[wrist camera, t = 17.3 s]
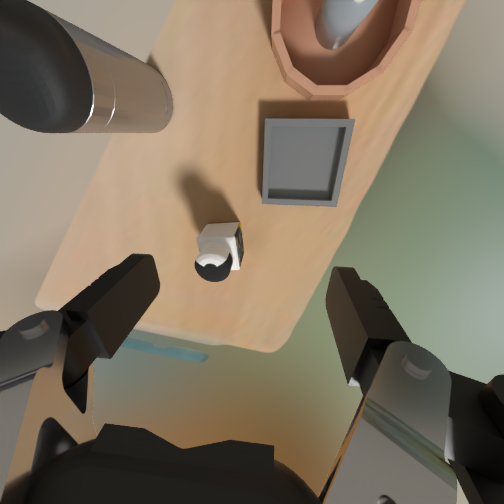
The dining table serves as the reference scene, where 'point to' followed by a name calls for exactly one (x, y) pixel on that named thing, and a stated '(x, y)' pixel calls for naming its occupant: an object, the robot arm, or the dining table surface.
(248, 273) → the dining table surface
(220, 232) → the medicine bottle
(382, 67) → the bowl
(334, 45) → the pebble cup
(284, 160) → the parts tray
